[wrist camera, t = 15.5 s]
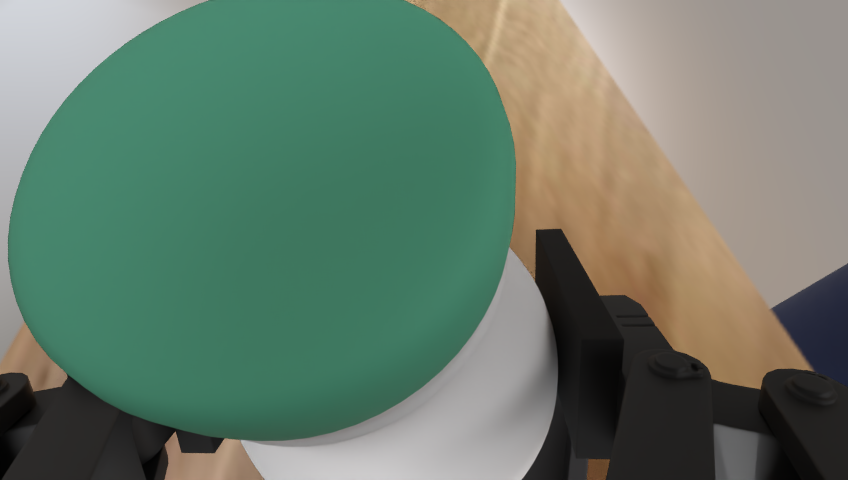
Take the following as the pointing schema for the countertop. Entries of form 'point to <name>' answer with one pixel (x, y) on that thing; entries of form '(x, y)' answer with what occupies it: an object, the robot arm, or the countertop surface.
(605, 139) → the countertop surface
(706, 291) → the countertop surface
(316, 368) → the milk bottle
